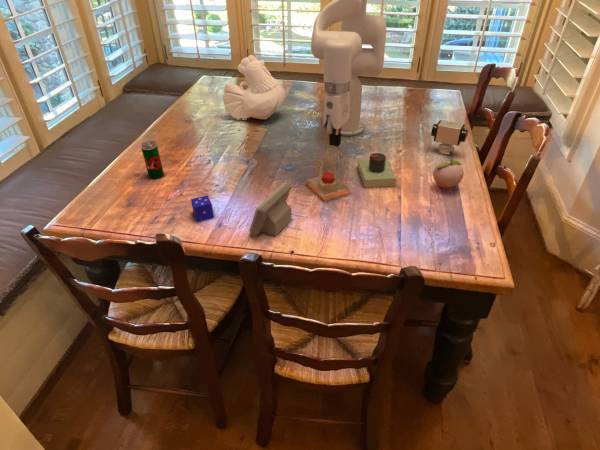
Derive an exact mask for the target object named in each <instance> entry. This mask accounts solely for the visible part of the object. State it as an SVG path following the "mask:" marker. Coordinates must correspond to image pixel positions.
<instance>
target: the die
mask: <svg viewBox="0 0 600 450" xmlns="http://www.w3.org/2000/svg"><path fill="white" fill-rule="evenodd" d="M190 201H191V206H192V207H191V208H192V213H193V215H194V217H195V219H196V222H200V221H205V220H209V219H213V218H214V217H215V216H214V210H213V204H212V201H211V199H210V197H209V196H208V195H202V196H198V197H195V198H191V199H190Z"/></svg>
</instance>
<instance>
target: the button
mask: <svg viewBox="0 0 600 450" xmlns="http://www.w3.org/2000/svg"><path fill="white" fill-rule="evenodd" d="M322 174H323V175H322ZM322 174H321V175H322V180H323V181H324V182H332V181H334V175H335V174H334V173H333V172H329V171H327V172H323V173H322Z"/></svg>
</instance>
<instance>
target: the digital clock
mask: <svg viewBox="0 0 600 450" xmlns="http://www.w3.org/2000/svg"><path fill="white" fill-rule="evenodd" d="M291 189H292V185H291V183H290V182H289V181H285V182H283V183H281V184H280V185H279V186H278V187H277V188H276V189H275V190H273V192H271V194H269V196H267V197H265V199H264V200H263V201H262V202H260V204H259V205H258V206H257V207H256V209H255V211H254V214H253V218H252V220H251V223H250V227H249V234H250V236H253V237H255V236H258V235H259V234H261V232H262V233H265V234H268V235H272V236H273V237H277V235H278V234H279V233H280V232H281V231H282V230H284V228H285V227H286V226H287V225H288V224H289V223H290V222H291V220H292V208H291V207H292V206H291V205H289V204H288V203H287V200H288V197H289V195H290V192H291Z"/></svg>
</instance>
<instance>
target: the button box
mask: <svg viewBox="0 0 600 450" xmlns="http://www.w3.org/2000/svg"><path fill="white" fill-rule="evenodd" d="M322 175H323V173H322V174H320V175H318V176H315V177H312V178H308V179H306V181H307V187H309V188H310V189H311V190H312V191H313V192H314V193H315V194H316V195H317V196H318V197H319V198H320V199H321V200H323V201H324V202H328V201H331V200H333V199H337V198H340V197H343V196H345V195H348V194H350V187H349V186H348V185H346V184H345V183H344V182H343V181H342V180H340V179H339V177H338V175H336V174H334V181H332V182H324V181H323V180H322Z"/></svg>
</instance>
